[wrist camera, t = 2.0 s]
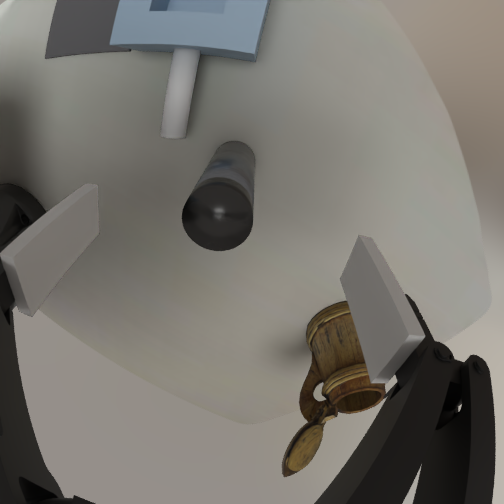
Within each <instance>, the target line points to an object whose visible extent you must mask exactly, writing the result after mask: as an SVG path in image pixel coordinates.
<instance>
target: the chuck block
mask: <svg viewBox="0 0 504 504" xmlns="http://www.w3.org/2000/svg"><path fill="white" fill-rule="evenodd" d="M269 4H270V0H120V1H119V5H118V9H117V13H116V17H115V21H114V25H113V30H112V35H111V40H110V45H113V46H119V47H124V48H128V49H133V50H138V51H158V52H173V57H172V62H171V67H170V73H169V78H168V84H167V90H166V96H165V103H164V110H163V117H162V124H161V132H160V136H161V137H164V138H170V139H183V138H185V137H186V130H187V124H188V117H189V111H190V105H191V99H192V94H193V88H194V83H195V78H196V73H197V68H198V63H199V58H200V54H202V55H212V56H220V57H227V58H234V59H240V60H246V61H252V62H255V61H256V57H257V53H258V48H259V44H260V40H261V36H262V32H263V28H264V24H265V20H266V16H267V12H268V8H269Z"/></svg>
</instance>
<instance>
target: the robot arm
mask: <svg viewBox="0 0 504 504" xmlns="http://www.w3.org/2000/svg"><path fill="white" fill-rule="evenodd" d="M99 233H100V228H99V209H98V185H94V184H87V183H85V184H84V185H83V186H81V187H80V188H78V189H77V190H76V191H74V192H73V193H71V194H70V195H69V196H67V197H66V198H65V199H63V200H62V201H61V202H59V203H58V204H57V205H56V206H54V207H53V208H52V209H50V210H49V211H48V212H47V213H45V211H44V210H43V208H42V207H41V205H40V204H39V203H38V202H37V201H36V199H35V198H34V197H33V196H31V195H30V194H29V193H28V192H27V191H25V190H24V189H22V188H20V187H18V186H16V185H13V184H2V185H0V504H95V503H92V502H90V501H87V500H85V499H82V498H80V497H78V496H75V495H74V497H73V499H72V498H64V496H63V494H62V491H61V490H60V487H59V486H58V484H57V482H56V481H55V479H54V477H53V476H52V475H51V473H50V472H49V471H48V469H47V467H46V465H45V463H44V460H43V458H42V455H41V452H40V449H39V446H38V443H37V440H36V437H35V434H34V430H33V427H32V424H31V421H30V416H29V413H28V409H27V405H26V400H25V396H24V391H23V387H22V381H21V376H20V370H19V365H18V358H17V350H16V342H15V333H14V322H13V312H12V310H13V308H14V307H15V306H17V307H18V310H19V312H21V313H24V314H26V315H28V316H31V317H33V316H34V314H35V313H36V311H37V310H38V309H39V307H40V306H41V304H42V303H43V302H44V300H45V299H46V298H47V296H48V295H49V294H50V292H51V291H52V290H53V288H54V287H55V286H56V285H57V283H58V282H59V281H60V279H61V278H62V277H63V276H64V274H65V273H66V272H67V271H68V269H69V268H70V267H71V266H72V265H73V263H74V262H75V261H76V260H77V259H78V257H79V256H80V255H81V254H82V253H83V252H84V250H85V249H86V248H87V247H88V246H89V245H90V243H91V242H92V241H93V240H94V239H95V238H96V237H97V236H98V235H99ZM340 281H341V284H342V287H343V290H344V293H345V296H346V299H347V302H348V305H349V308H350V311H351V315H352V318H353V321H354V324H355V328H356V331H357V334H358V338H359V341H360V345H361V348H362V352H363V355H364V359H365V363H366V366H367V370H368V374H369V378H370V381H371V383H388V381H389V380H390V379H391V378H392V377H393V376H394V375H396V378H397V381H398V382H397V383H396V384H395V385H394V386H393V387H392V388H391V389H390V390H389V391H388V392H387V393H386V394H385V396H384V398H386V397H387V396H388V397H387V399H386V401H385V402H384V404H383V406H382V408H381V409H380V411H379V413H378V415H377V416H376V418H375V420H374V421H373V423H372V425H371V426H370V428H369V430H368V431H367V433H366V434H365V436H364V437H363V439H362V441H361V442H360V444H359V445H358V447H357V448H356V450H355V451H354V452H353V454H352V455H351V457H350V458H349V460H348V461H347V463H346V464H345V465H344V467H343V468H342V469H341V471H340V472H339V474H338V475H337V476H336V477H335V479H334V480H333V481H332V483H331V484H330V485H329V487H328V488H327V489H326V490H325V491H324V493H323V494H322V495H321V496H320V498H319V499H318V500H317V501H316V502H315V503H314V504H402V503H403V501H404V499H405V497H406V495H407V493H408V492H409V489H410V487H411V485H412V484H413V481H414V479H415V477H416V475H417V473H418V471H419V469H420V466H421V464H422V466H421V471H420V476H419V480H418V485H417V489H416V493H415V497H414V500H413V504H492V497H493V488H494V475H495V416H494V404H493V393H492V385H491V377H490V371H489V368H488V366H487V364H486V362H485V361H484V360H483V359H482V358H480V357H479V356H477V355H470V357H469V358H468V359H467V360H466V361H465V362H461V361H458V360H455V359H454V356H453V354H452V352H451V351H450V349H449V348H448V347H447V346H445V345H444V344H442V343H440V342H436V341H434V339H433V337H432V335H431V333H430V331H429V329H428V327H427V325H426V323H425V321H424V320H423V317H422V315H421V313H419V309H418V307H417V306H416V304H415V302H414V301H413V300H412V299H411V298H410V297H409V296H408V295H407V294H404V292H403V290H402V289H401V287H400V285H399V283H398V281H397V280H396V278H395V276H394V274H393V272H392V271H391V269H390V267H389V265H388V264H387V262H386V260H385V259H384V257H383V255H382V254H381V252H380V250H379V249H378V247H377V245H376V244H375V242H374V240H373V239H372V238H370V237H366V236H362V235H359V236H358V238H357V241H356V243H355V246H354V248H353V250H352V253H351V255H350V257H349V260H348V262H347V264H346V267H345V269H344V271H343V273H342V276H341V278H340ZM461 404H462V407H461V410H460V411H459V412H458V406H460V405H461Z"/></svg>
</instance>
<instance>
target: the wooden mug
mask: <svg viewBox="0 0 504 504" xmlns="http://www.w3.org/2000/svg"><path fill="white" fill-rule="evenodd" d="M306 337H307V343H308V346H309V348H310V350H311V351H312V364H311V367H310V370H309V372H308V375H307V377H306V379H305V382H304V384H303V387H302V389H301V392H300V400H299V404H300V410H301V413H302V415H303V416H304V418H305V419H306V420H307V421H308V423H306V424H305V425H304V426H303V427H302V428H301V429H300V430H299V431H298V432H297V433H296V435H295V436H294V437H293V439H292V441H291V442H290V444H289V446H288V447H287V450H286V452H285V455H284V458H283V462H282V474H283V475H284V477H287V476H290V475H293V474H295V473H297V472H298V471H300V470H301V469H303V468H304V467H306V466H307V465H308V464H309V462H310V461H311V460H312V459H313V457H314V455H315V454H316V452H317V450H318V448H319V446H320V443H321V441H322V436H323V427H324V425H325V423H326V421H328V420H330V419H332V418H335V417H337V415H338V412H341V413H346V414H351V413H357V412H361V411H364V410H367V409H370V408H372V407H374V406H376V405H377V404H379V403H380V402H381V401H382V400H383V399H384V396H385V394H386V391H385V383H371V381H370V378H369V374H368V370H367V366H366V363H365V359H364V355H363V352H362V348H361V345H360V341H359V338H358V334H357V331H356V328H355V324H354V321H353V318H352V315H351V311H350V308H349V305H348V302H341V303H337V304H334V305H332V306H330V307H327V308H326V309H324V310H323V311H321V312H320V313H319V314H317V315H316V316H315V317H314V318H313V319H312V320H311V322H310V323H309V325H308V327H307V333H306ZM322 382H323V383H324V385H323V387H322V396H324V397H325V398H326V400H324V401H320V402H319V401H317V400H316V399H315V398H314V396H313V392H314V390H315V388H316V386H318V385H319V384H320V383H322Z"/></svg>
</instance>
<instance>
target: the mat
mask: <svg viewBox="0 0 504 504" xmlns="http://www.w3.org/2000/svg"><path fill="white" fill-rule="evenodd" d="M119 1H120V0H57V3H56V6H55V10H54V14H53V18H52V23H51V27H50V32H49V37H48V43H47V48H46V54H45V59H48V58H54V57H61V56H68V55H77V54H87V53H100V52H120V51H131V49H128V48H124V47H119V46H113V45H110V40H111V35H112V30H113V25H114V21H115V17H116V13H117V9H118V5H119Z"/></svg>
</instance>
